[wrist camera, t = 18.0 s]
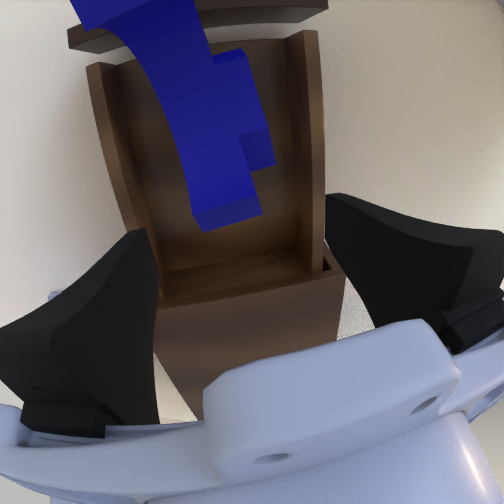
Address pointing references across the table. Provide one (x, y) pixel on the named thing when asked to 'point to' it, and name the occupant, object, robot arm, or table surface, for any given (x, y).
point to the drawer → (265, 180)
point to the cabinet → (245, 327)
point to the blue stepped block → (196, 102)
